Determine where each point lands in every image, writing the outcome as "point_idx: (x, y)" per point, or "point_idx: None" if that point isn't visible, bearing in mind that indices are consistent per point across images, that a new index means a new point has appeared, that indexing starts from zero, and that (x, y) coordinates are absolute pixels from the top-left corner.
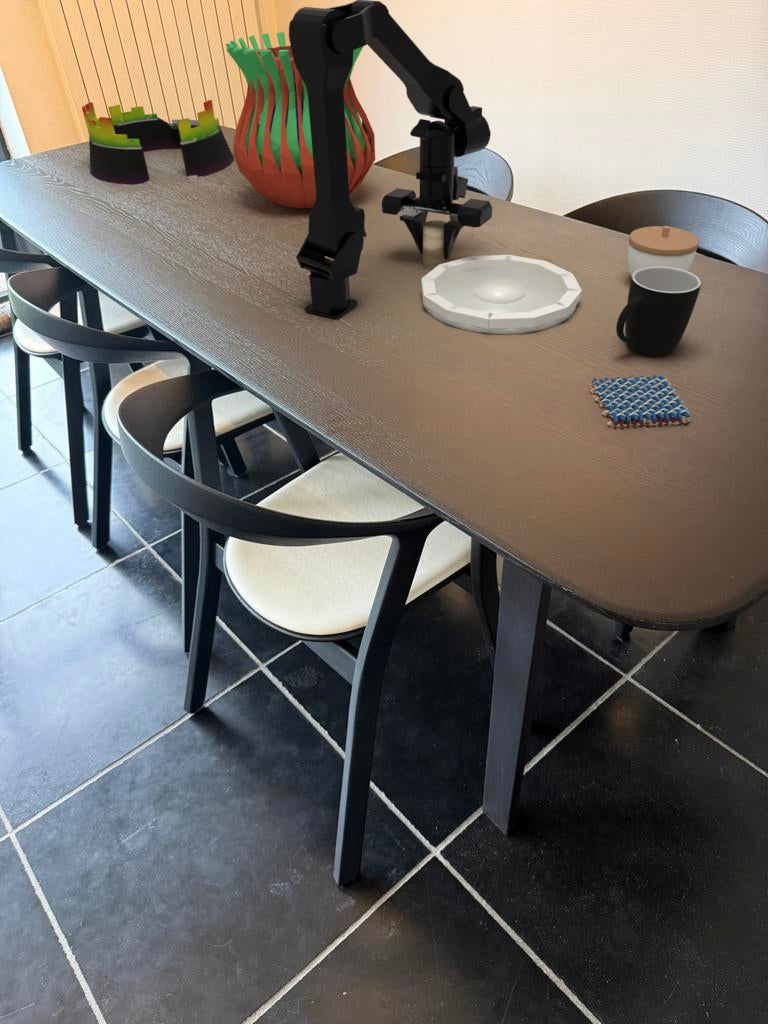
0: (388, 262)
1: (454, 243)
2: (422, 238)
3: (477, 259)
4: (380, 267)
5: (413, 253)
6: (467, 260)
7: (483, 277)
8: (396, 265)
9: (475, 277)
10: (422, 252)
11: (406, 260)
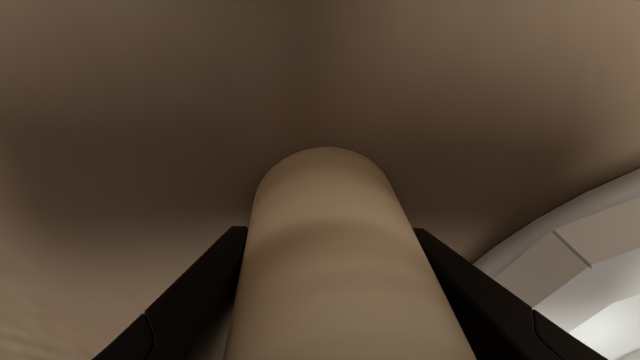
0: (79, 276)
1: (500, 286)
2: (222, 353)
3: (628, 289)
4: (95, 328)
5: (100, 109)
6: (566, 319)
7: (611, 321)
8: (145, 289)
9: (575, 331)
10: None
11: (145, 223)
